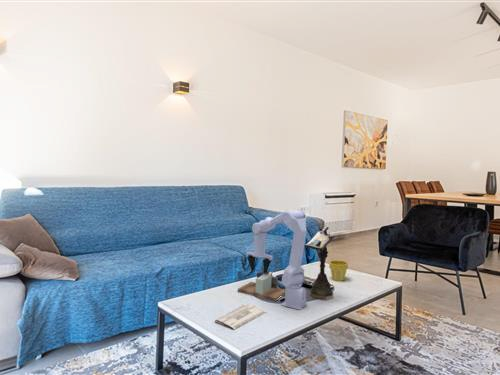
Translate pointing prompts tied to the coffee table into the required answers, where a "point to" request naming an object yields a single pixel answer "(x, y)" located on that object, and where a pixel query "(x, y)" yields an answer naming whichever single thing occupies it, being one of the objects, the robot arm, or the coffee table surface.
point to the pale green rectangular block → (263, 283)
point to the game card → (264, 273)
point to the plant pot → (338, 269)
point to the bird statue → (321, 266)
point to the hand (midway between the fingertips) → (259, 271)
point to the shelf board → (271, 294)
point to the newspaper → (241, 316)
